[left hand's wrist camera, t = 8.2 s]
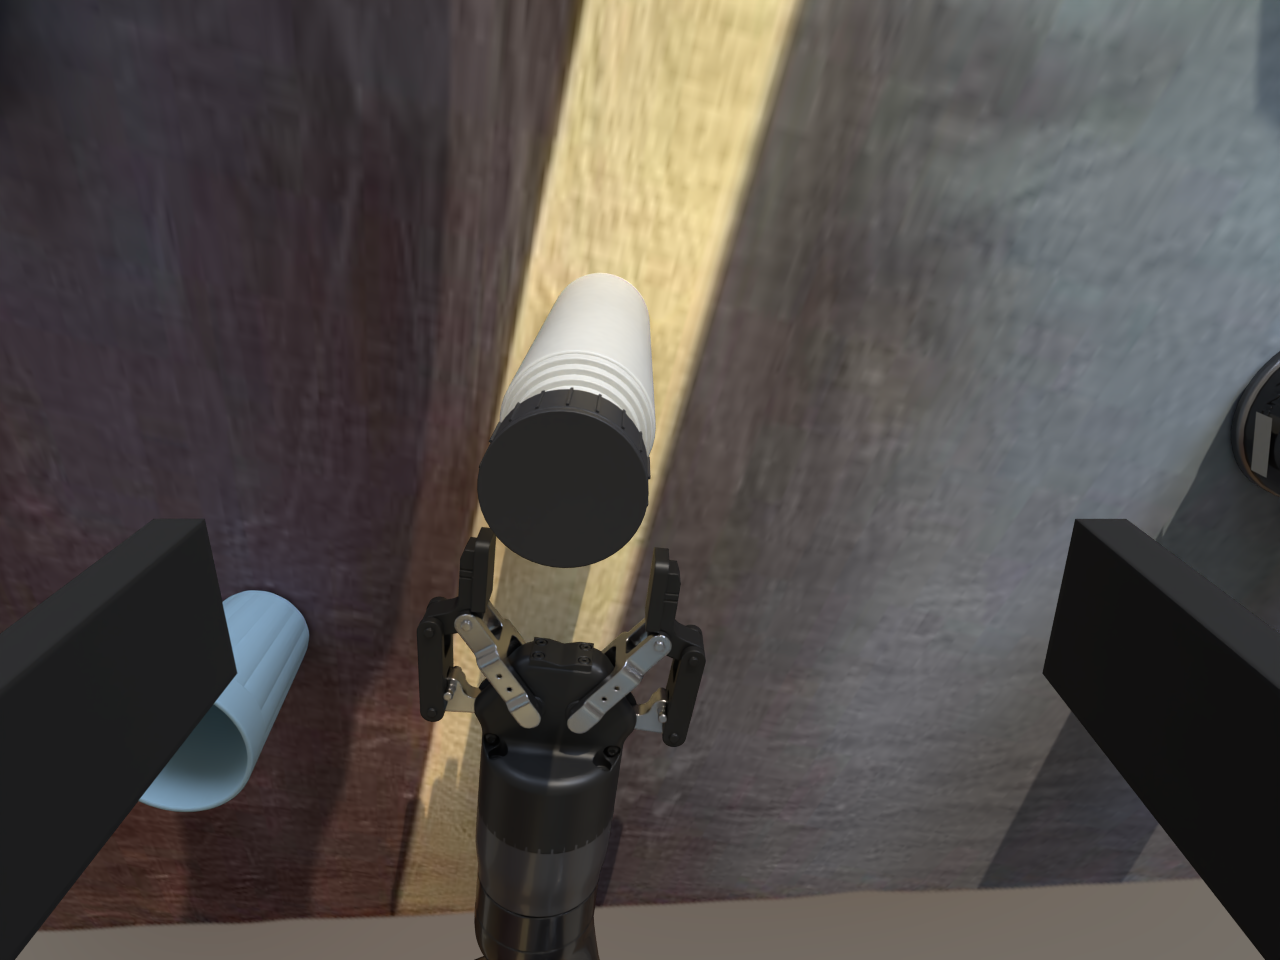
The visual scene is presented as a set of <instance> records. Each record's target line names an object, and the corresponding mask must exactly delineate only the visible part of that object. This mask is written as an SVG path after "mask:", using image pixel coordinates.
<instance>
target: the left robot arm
mask: <svg viewBox="0 0 1280 960" xmlns="http://www.w3.org/2000/svg"><path fill="white" fill-rule="evenodd" d="M236 675H237V669H236V664H235V659H234V655H233V650H232V645H231V640H230V636H229V631H228V626H227V622H226V617H225V612H224V607H223V603H222V598H221V593H220V589H219V584H218V579H217V575H216V570H215V565H214V560H213V556H212V551H211V546H210V542H209V537H208V532H207V528H206V523H205V519H153V520H152V521H151V522H149V523H148V524H147V525H145V526H144V527H143V528H141V529H140V530H138V531H137V532H136V533H134V534H133V535H132V536H130V537H129V538H128V539H126V540H125V541H124V542H122V543H121V544H120V545H118V546H117V547H116V548H114V549H113V550H112V551H110V552H109V553H108V554H106V555H105V556H104V557H102V558H101V559H100V560H98V561H97V562H96V563H94V564H93V565H92V566H90V567H89V568H88V569H86V570H85V571H84V572H82V573H81V574H80V575H78V576H77V577H76V578H74V579H73V580H72V581H70V582H69V583H68V584H66V585H65V586H64V587H62V588H61V589H60V590H58V591H57V592H56V593H54V594H53V595H52V596H50V597H49V598H48V599H46V600H45V601H44V602H42V603H41V604H39V605H38V606H37V607H35V608H34V609H33V610H31V611H30V612H29V613H27V614H26V615H25V616H23V617H22V618H21V619H19V620H18V621H17V622H15V623H14V624H13V625H11V626H10V627H9V628H7V629H6V630H5V631H3V632H2V633H1V634H0V960H15V959H16V958H17V956H18V955H19V954H20V952H21V951H22V950H23V949H24V947H25V946H26V945H27V943H28V942H29V941H30V940H31V938H32V937H33V936H34V934H35V933H36V932H37V931H38V929H39V928H40V927H41V925H42V924H43V923H44V922H45V920H46V919H47V918H48V916H49V915H50V914H51V913H52V911H53V910H54V909H55V907H56V906H57V905H58V904H59V902H60V901H61V900H62V898H63V897H64V896H65V895H66V893H67V892H68V891H69V889H70V888H71V887H72V886H73V884H74V883H75V882H76V880H77V879H78V878H79V877H80V875H81V874H82V873H83V871H84V870H85V869H86V868H87V866H88V865H89V864H90V862H91V861H92V860H93V859H94V857H95V856H96V855H97V853H98V852H99V851H100V850H101V848H102V847H103V846H104V844H105V843H106V842H107V841H108V839H109V838H110V837H111V835H112V834H113V833H114V832H115V830H116V829H117V828H118V826H119V825H120V824H121V823H122V821H123V820H124V819H125V817H126V816H127V815H128V814H129V812H130V811H131V810H132V808H133V807H134V806H135V805H136V803H137V802H138V801H139V799H140V798H141V797H142V796H143V794H144V793H145V792H146V790H147V789H148V788H149V787H150V785H151V784H152V783H153V781H154V780H155V779H156V778H157V776H158V775H159V774H160V772H161V771H162V770H163V769H164V767H165V766H166V765H167V763H168V762H169V761H170V760H171V758H172V757H173V756H174V754H175V753H176V752H177V751H178V749H179V748H180V747H181V745H182V744H183V743H184V742H185V740H186V739H187V738H188V736H189V735H190V734H191V733H192V731H193V730H194V729H195V727H196V726H197V725H198V724H199V722H200V721H201V720H202V718H203V717H204V716H205V715H206V713H207V712H208V711H209V709H210V708H211V707H212V706H213V704H214V703H215V702H216V700H217V699H218V698H219V697H220V695H221V694H222V693H223V691H224V690H225V689H226V688H227V686H228V685H229V684H230V682H231V681H232V680H233V679H234V677H235V676H236ZM1043 675H1044V676H1045V677H1046V679H1047V680H1048V681H1049V682H1050V684H1051V685H1052V686H1053V688H1054V689H1055V690H1056V691H1057V693H1058V694H1059V695H1060V697H1061V698H1062V699H1063V700H1064V702H1065V703H1066V704H1067V706H1068V707H1069V708H1070V709H1071V711H1072V712H1073V713H1074V715H1075V716H1076V717H1077V718H1078V720H1079V721H1080V722H1081V724H1082V725H1083V726H1084V727H1085V729H1086V730H1087V731H1088V733H1089V734H1090V735H1091V736H1092V738H1093V739H1094V740H1095V742H1096V743H1097V744H1098V745H1099V747H1100V748H1101V749H1102V751H1103V752H1104V753H1105V754H1106V756H1107V757H1108V758H1109V760H1110V761H1111V762H1112V763H1113V765H1114V766H1115V767H1116V769H1117V770H1118V771H1119V772H1120V774H1121V775H1122V776H1123V778H1124V779H1125V780H1126V781H1127V783H1128V784H1129V785H1130V787H1131V788H1132V789H1133V790H1134V792H1135V793H1136V794H1137V796H1138V797H1139V798H1140V799H1141V801H1142V802H1143V803H1144V805H1145V806H1146V807H1147V808H1148V810H1149V811H1150V812H1151V814H1152V815H1153V816H1154V817H1155V819H1156V820H1157V821H1158V823H1159V824H1160V825H1161V826H1162V828H1163V829H1164V830H1165V832H1166V833H1167V834H1168V835H1169V837H1170V838H1171V839H1172V841H1173V842H1174V843H1175V844H1176V846H1177V847H1178V848H1179V850H1180V851H1181V852H1182V853H1183V855H1184V856H1185V857H1186V859H1187V860H1188V861H1189V862H1190V864H1191V865H1192V866H1193V868H1194V869H1195V870H1196V871H1197V873H1198V874H1199V875H1200V877H1201V878H1202V879H1203V880H1204V882H1205V883H1206V884H1207V886H1208V887H1209V888H1210V889H1211V891H1212V892H1213V893H1214V895H1215V896H1216V897H1217V898H1218V900H1219V901H1220V902H1221V904H1222V905H1223V906H1224V907H1225V909H1226V910H1227V911H1228V913H1229V914H1230V915H1231V916H1232V918H1233V919H1234V920H1235V922H1236V923H1237V924H1238V925H1239V927H1240V928H1241V929H1242V931H1243V932H1244V933H1245V934H1246V936H1247V937H1248V938H1249V940H1250V941H1251V942H1252V943H1253V945H1254V946H1255V947H1256V949H1257V950H1258V951H1259V952H1260V954H1261V955H1262V956H1263V958H1264V959H1265V960H1280V634H1279V633H1278V632H1277V631H1275V630H1274V629H1273V628H1271V627H1270V626H1269V625H1267V624H1266V623H1265V622H1263V621H1262V620H1261V619H1259V618H1258V617H1257V616H1255V615H1254V614H1253V613H1251V612H1250V611H1249V610H1247V609H1246V608H1245V607H1243V606H1242V605H1241V604H1239V603H1238V602H1236V601H1235V600H1234V599H1232V598H1231V597H1230V596H1228V595H1227V594H1226V593H1224V592H1223V591H1222V590H1220V589H1219V588H1218V587H1216V586H1215V585H1214V584H1212V583H1211V582H1210V581H1208V580H1207V579H1206V578H1204V577H1203V576H1202V575H1200V574H1199V573H1198V572H1196V571H1195V570H1194V569H1192V568H1191V567H1190V566H1188V565H1187V564H1186V563H1184V562H1183V561H1182V560H1180V559H1179V558H1178V557H1176V556H1175V555H1174V554H1172V553H1171V552H1170V551H1168V550H1167V549H1166V548H1164V547H1163V546H1162V545H1160V544H1159V543H1158V542H1156V541H1155V540H1154V539H1152V538H1151V537H1150V536H1148V535H1147V534H1146V533H1144V532H1143V531H1141V530H1140V529H1139V528H1137V527H1136V526H1135V525H1133V524H1132V523H1131V522H1129V521H1128V520H1127V519H1075V523H1074V528H1073V532H1072V537H1071V542H1070V546H1069V551H1068V556H1067V560H1066V565H1065V570H1064V575H1063V579H1062V584H1061V589H1060V593H1059V598H1058V603H1057V607H1056V612H1055V617H1054V622H1053V626H1052V631H1051V636H1050V640H1049V645H1048V650H1047V654H1046V659H1045V664H1044V669H1043Z"/></svg>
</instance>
